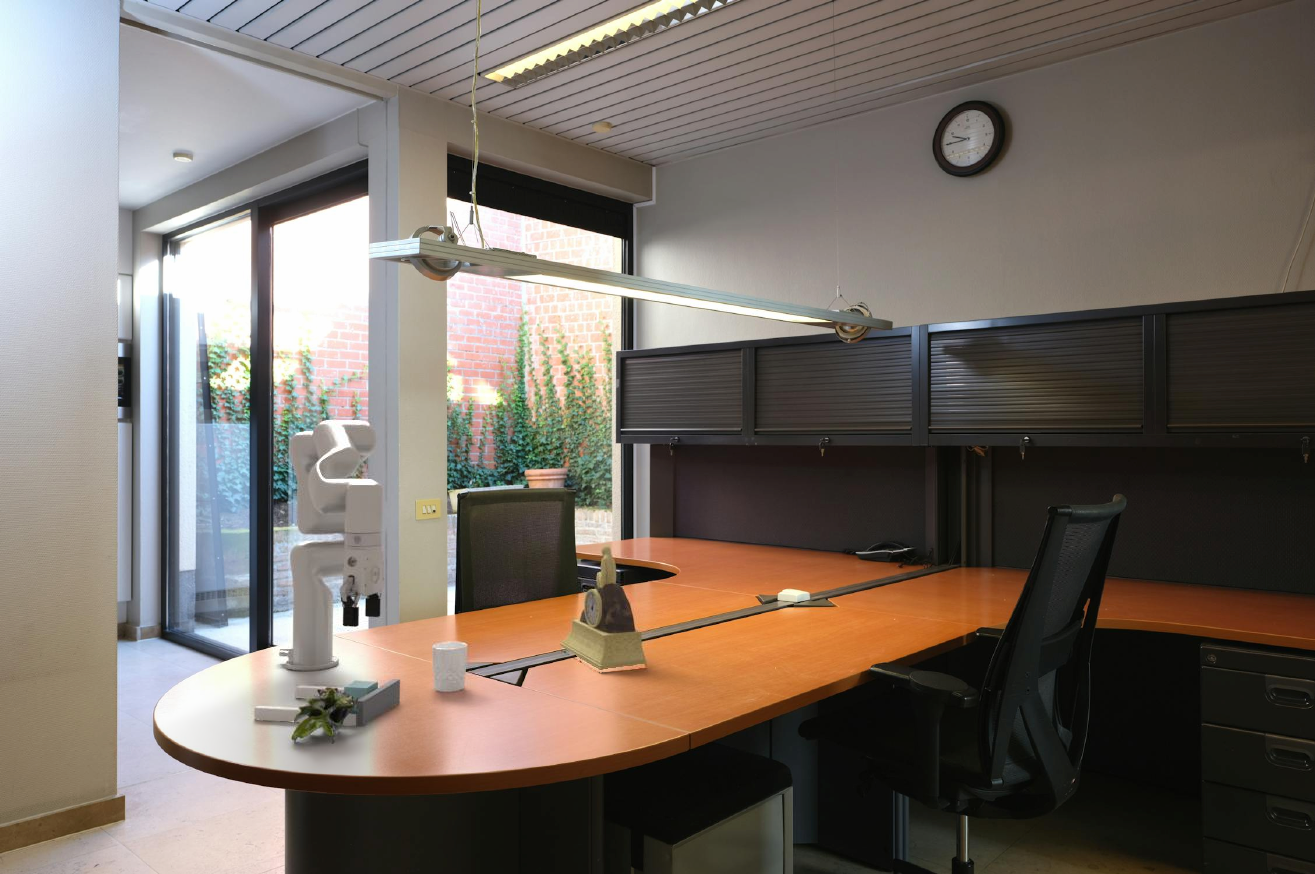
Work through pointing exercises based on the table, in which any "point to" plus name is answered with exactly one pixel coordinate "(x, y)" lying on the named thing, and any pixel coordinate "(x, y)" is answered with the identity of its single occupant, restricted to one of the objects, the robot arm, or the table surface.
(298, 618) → the robot arm
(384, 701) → the guide channel
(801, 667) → the table surface
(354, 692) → the block
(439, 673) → the white cup
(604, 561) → the decorative clock
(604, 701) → the table surface
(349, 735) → the table surface
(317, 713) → the passion flower
